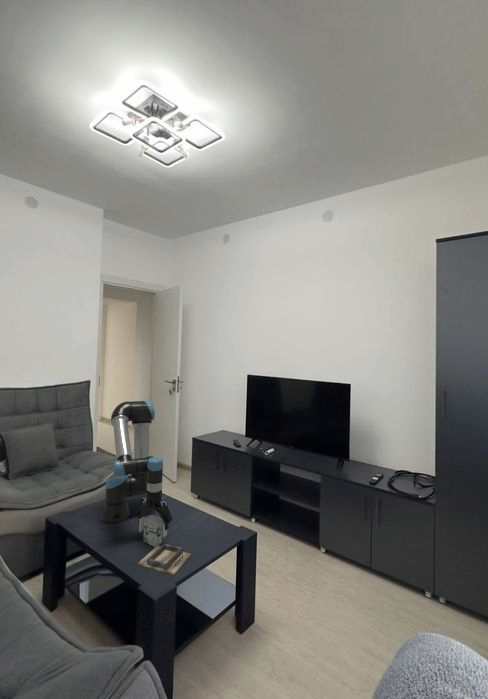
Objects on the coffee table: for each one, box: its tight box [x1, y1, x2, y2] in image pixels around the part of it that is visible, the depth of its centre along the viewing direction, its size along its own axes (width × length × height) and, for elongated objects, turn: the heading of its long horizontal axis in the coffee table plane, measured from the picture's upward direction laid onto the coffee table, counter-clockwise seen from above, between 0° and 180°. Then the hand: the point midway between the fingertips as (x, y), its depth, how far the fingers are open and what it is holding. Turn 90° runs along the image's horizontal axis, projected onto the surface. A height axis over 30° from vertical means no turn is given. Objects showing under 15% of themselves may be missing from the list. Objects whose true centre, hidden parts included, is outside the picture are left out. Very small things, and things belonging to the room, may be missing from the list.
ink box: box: [142, 514, 164, 548], centre depth 172 cm, size 9×5×12 cm, turn 56°
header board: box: [138, 543, 192, 576], centre depth 157 cm, size 18×15×3 cm
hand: (152, 533), depth 171 cm, fingers open, 13 cm apart
